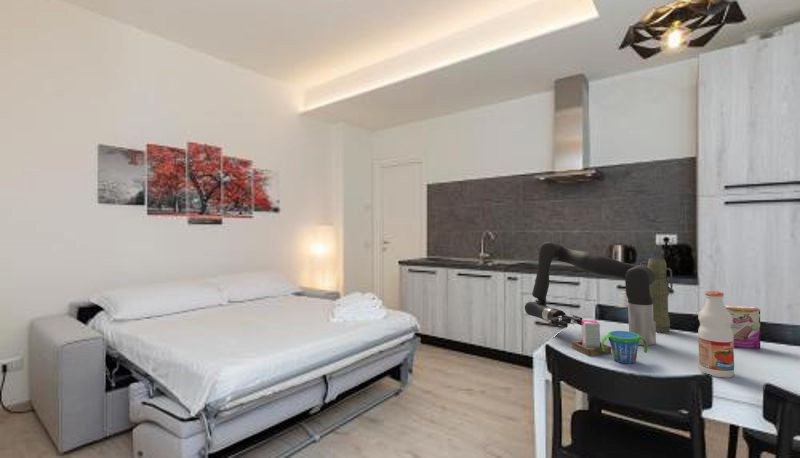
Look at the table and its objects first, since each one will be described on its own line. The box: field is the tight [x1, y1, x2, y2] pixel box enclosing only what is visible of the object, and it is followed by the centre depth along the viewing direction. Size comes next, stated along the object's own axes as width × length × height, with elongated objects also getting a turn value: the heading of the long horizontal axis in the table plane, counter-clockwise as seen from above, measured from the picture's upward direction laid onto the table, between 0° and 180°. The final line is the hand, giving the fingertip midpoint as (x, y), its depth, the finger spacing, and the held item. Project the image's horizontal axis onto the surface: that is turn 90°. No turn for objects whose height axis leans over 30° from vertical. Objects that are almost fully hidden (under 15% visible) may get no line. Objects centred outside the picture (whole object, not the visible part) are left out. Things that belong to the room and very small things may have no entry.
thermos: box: [647, 257, 673, 334], centre depth 184 cm, size 9×12×35 cm
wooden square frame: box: [570, 340, 612, 357], centre depth 160 cm, size 11×11×2 cm
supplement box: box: [581, 319, 601, 348], centre depth 160 cm, size 6×6×12 cm
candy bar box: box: [724, 304, 761, 350], centre depth 158 cm, size 11×5×16 cm, turn 65°
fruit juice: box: [697, 290, 735, 379], centre depth 133 cm, size 9×9×28 cm
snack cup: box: [600, 330, 649, 364], centre depth 147 cm, size 16×10×10 cm
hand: (575, 324), depth 169 cm, fingers open, 8 cm apart
